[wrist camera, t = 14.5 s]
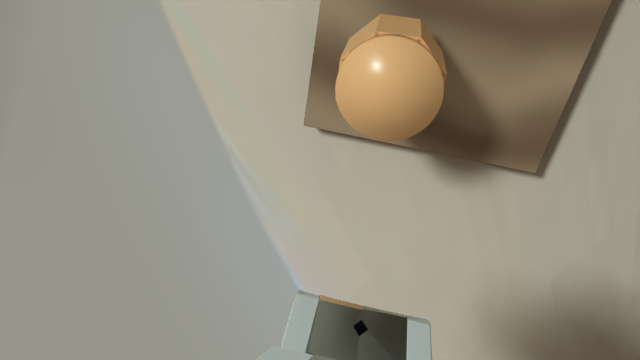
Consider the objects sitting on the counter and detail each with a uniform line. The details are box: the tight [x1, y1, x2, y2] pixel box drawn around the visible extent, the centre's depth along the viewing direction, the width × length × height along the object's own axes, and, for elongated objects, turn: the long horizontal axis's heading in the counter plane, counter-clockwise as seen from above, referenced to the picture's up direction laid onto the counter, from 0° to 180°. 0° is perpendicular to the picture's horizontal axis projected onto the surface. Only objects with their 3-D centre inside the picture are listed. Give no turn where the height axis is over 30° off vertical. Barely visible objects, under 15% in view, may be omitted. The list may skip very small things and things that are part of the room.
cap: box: [335, 14, 447, 141], centre depth 26 cm, size 5×5×5 cm
